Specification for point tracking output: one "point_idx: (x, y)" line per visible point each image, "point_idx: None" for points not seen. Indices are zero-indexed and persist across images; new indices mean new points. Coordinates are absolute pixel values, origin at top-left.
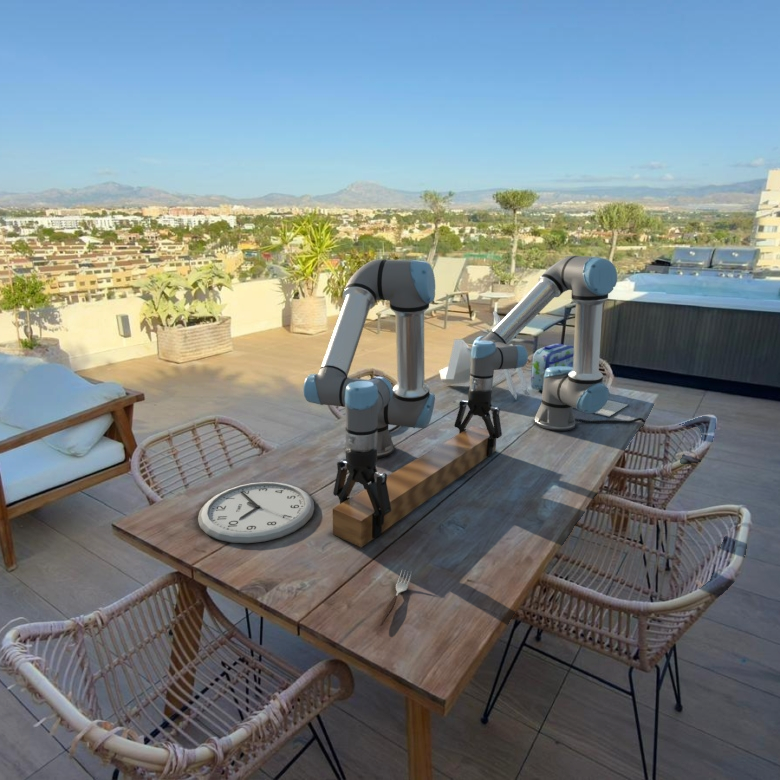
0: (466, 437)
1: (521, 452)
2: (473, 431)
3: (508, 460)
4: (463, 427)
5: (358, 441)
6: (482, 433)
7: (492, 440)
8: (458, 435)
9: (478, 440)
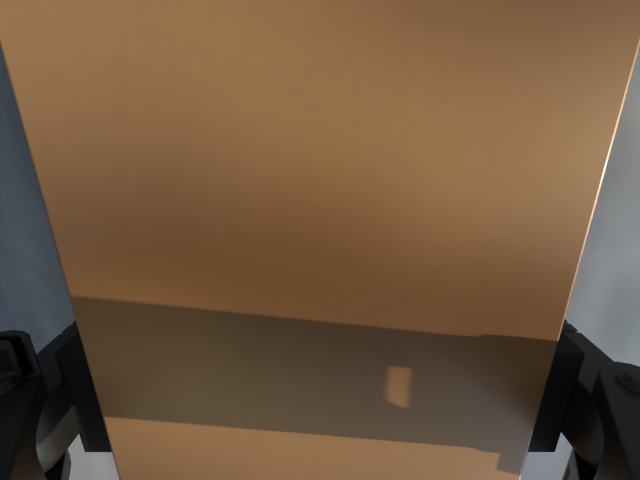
0: (386, 124)
1: (80, 454)
2: (402, 431)
3: (48, 298)
4: (608, 423)
5: None
6: (251, 442)
7: (55, 360)
8: (581, 116)
9: (110, 143)
